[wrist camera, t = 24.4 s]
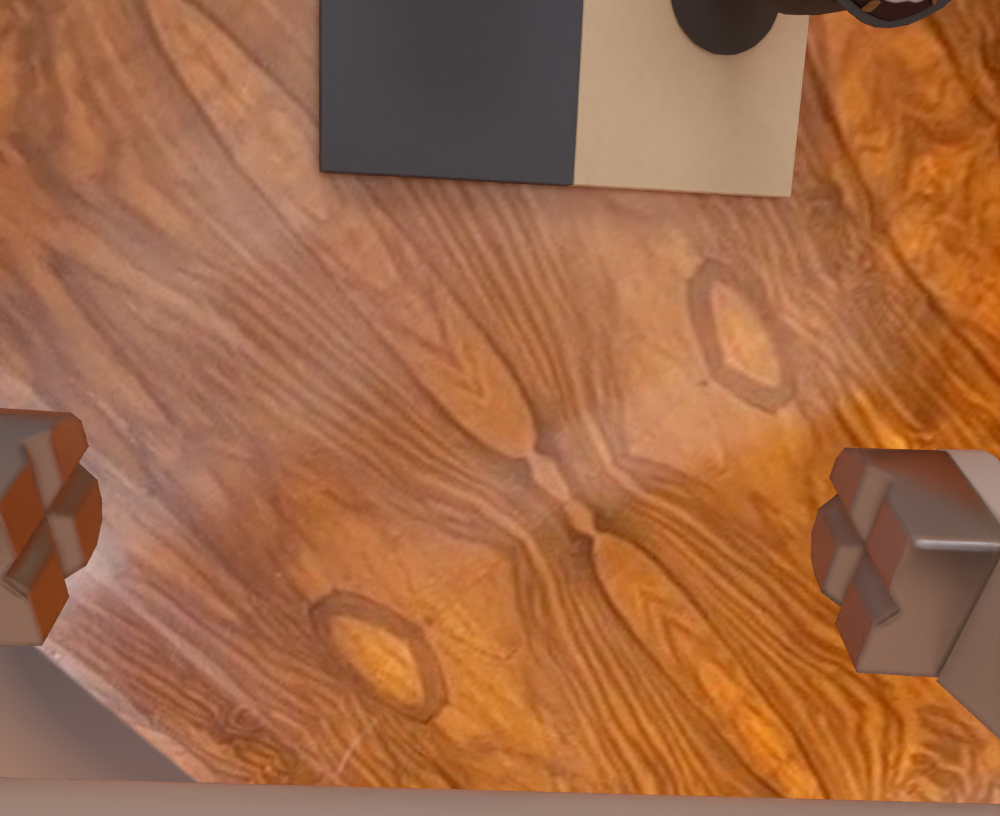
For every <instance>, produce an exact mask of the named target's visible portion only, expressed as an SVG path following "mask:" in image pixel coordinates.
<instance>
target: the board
mask: <svg viewBox="0 0 1000 816" xmlns="http://www.w3.org/2000/svg"><path fill="white" fill-rule="evenodd" d="M808 23H809V15H784V14H781V13H778V14H777V17H776V20H775V22H774V24H773V26H772V28H771V30H770V31H769V32H768V33H767V35H766V36H765V37H764V38H763V39H762V40H761V41H760V42H759V43H758V44H757V45H756V46H754V47H752V48H751V49H749V50H747V51H744V52H742V53H739V54H736V55H720V54H713V53H711V52H709V51H707V50H704V49H703V48H701V47H700V46H698V45H696V44H695V43H694V42H693V41H692V40H691V39H690V38H689V37H688V36H687V35H686V33H685V32H684V30H683V29H682V27H681V26H680V25H679V22H678V19H677V17H676V14H675V11H674V7H673V4H672V0H319V171H320V172H323V173H341V174H358V175H376V176H394V177H411V178H429V179H447V180H465V181H482V182H500V183H518V184H536V185H553V186H572V187H590V188H607V189H625V190H643V191H660V192H678V193H696V194H714V195H731V196H749V197H767V198H789V197H790V196H791V188H792V178H793V168H794V159H795V149H796V139H797V130H798V120H799V110H800V101H801V91H802V81H803V72H804V62H805V52H806V42H807V33H808Z"/></svg>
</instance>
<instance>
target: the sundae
mask: <svg viewBox="0 0 1000 816" xmlns="http://www.w3.org/2000/svg"><path fill="white" fill-rule="evenodd" d="M950 1H951V0H672V4H673V7H674V11H675V14H676V17H677V19H678V22H679V25H680V26H681V27H682V29H683V30H684V32H685V33H686V35H687V36H688V37H689V38H690V39H691V40H692V41H693V42H694V43H695V44H696V45H698V46H700V47H701V48H703V49H704V50H707V51H709V52H711V53H713V54H720V55H736V54H739V53H742V52H744V51H747V50H749V49H751V48H752V47H754V46H756V45H757V44H758V43H759V42H760V41H761V40H762V39H763V38H764V37H765V36H766V35H767V33H768V32H769V31H770V30H771V28H772V26H773V24H774V22H775V20H776V17H777V14H778V13H781V14H784V15H821V14H827V13H833V12H839V11H845V10H847V11H848V12H849V13H851V14H852V15H853V16H854V17H856V18H857V19H858V20H860V21H861V22H862V23H865V24H868V25H870V26H873V27H879V28H893V27H898V26H904V25H909V24H911V23H913V22H916V21H918V20H921V19H923V18H925V17H927V16H929V15H931V14H932V13H934V12H936V11H938V10H940V9H941V8H943V7H944V6H945V5H946V4H948V3H949V2H950Z"/></svg>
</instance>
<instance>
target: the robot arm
mask: <svg viewBox="0 0 1000 816" xmlns="http://www.w3.org/2000/svg"><path fill="white" fill-rule="evenodd" d="M88 447H89V445H88V442H87V438H86V435H85V432H84V428H83V425H82V421H81V420H80V419H79V418H77V417H76V416H75V415H73V414H72V413H69V412H53V411H38V410H22V409H6V408H0V645H1V646H42V645H43V643H44V641H45V639H46V637H47V636H48V634H49V632H50V630H51V628H52V627H53V625H54V623H55V621H56V619H57V618H58V616H59V614H60V612H61V610H62V609H63V607H64V605H65V603H66V601H67V600H68V598H69V594H68V590H67V587H66V584H65V580H64V579H66V578H67V577H69V576H70V575H72V574H73V573H75V572H77V571H78V570H80V569H81V568H83V567H84V566H86V565H87V563H88V561H89V559H90V557H91V555H92V553H93V551H94V549H95V547H96V545H97V541H98V537H99V532H100V527H101V523H102V498H101V494H100V490H99V485H98V481H97V479H96V478H95V477H94V476H92V475H91V474H90V473H89V472H88V471H87V470H86V469H85V468H84V467H83V466H82V465H81V464H79V461H80V459H81V458H82V456H83V455H84V453H85V452H86V450H87V448H88ZM829 478H830V480H831V482H832V484H833V486H834V488H835V490H836V492H837V495H835V496H834V497H833V498H832V499H830V500H829V501H828V502H827V503H825V504H824V505H823V506H822V507H820V508H819V509H818V512H817V516H816V519H815V522H814V526H813V529H812V533H811V561H812V566H813V571H814V575H815V578H816V580H817V582H818V585H819V587H820V590H821V592H822V593H823V594H825V595H826V596H827V597H828V598H830V599H831V600H832V601H834V602H835V603H836V604H837V605H839V606H840V607H841V609H840V612H839V614H838V617H837V619H836V622H835V625H836V627H837V629H838V631H839V634H840V636H841V638H842V640H843V643H844V645H845V647H846V649H847V652H848V654H849V656H850V658H851V661H852V663H853V665H854V667H855V670H856V672H857V673H872V674H889V675H906V676H922V677H938V679H937V682H938V683H939V684H940V685H941V686H942V687H944V688H945V689H946V690H947V691H948V692H949V693H950V694H951V695H952V696H953V697H954V698H955V699H957V700H958V701H959V702H960V703H961V704H962V705H963V706H964V707H965V708H966V709H967V710H968V711H970V712H971V713H972V714H973V715H974V716H975V717H976V718H977V719H978V720H979V721H980V722H982V723H983V724H984V725H985V726H986V727H987V728H988V729H989V730H990V731H991V732H992V733H993V734H995V735H996V736H997V737H998V738H999V739H1000V461H999V460H998V459H997V457H996V456H994V455H992V454H990V453H988V452H986V451H984V450H960V449H937V450H910V449H878V448H846V447H845V448H844V449H843V450H842V452H841V453H840V454H839V456H838V457H837V458H836V460H835V463H834V466H833V468H832V471H831V474H830V477H829ZM0 816H1000V804H978V803H940V802H902V801H865V800H828V799H792V798H755V797H718V796H681V795H645V794H608V793H571V792H533V791H495V790H458V789H420V788H382V787H344V786H307V785H269V784H231V783H194V782H156V781H117V780H81V779H80V780H78V779H43V778H40V779H39V778H6V777H5V778H4V777H0Z"/></svg>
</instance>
